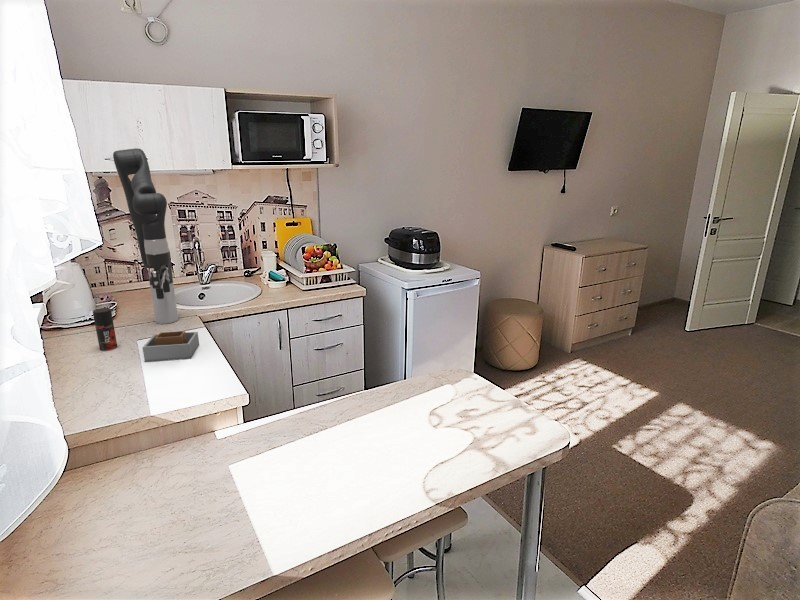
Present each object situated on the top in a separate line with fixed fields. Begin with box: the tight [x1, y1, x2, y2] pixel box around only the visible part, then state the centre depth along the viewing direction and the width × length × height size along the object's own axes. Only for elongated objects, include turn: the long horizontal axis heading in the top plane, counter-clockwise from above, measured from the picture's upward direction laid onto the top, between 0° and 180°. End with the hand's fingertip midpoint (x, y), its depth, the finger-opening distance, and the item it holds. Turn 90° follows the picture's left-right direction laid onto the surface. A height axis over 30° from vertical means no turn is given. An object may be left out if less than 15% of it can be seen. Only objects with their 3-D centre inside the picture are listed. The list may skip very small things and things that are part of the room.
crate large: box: [142, 331, 200, 363], centre depth 184 cm, size 14×16×6 cm
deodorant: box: [92, 307, 118, 352], centre depth 189 cm, size 6×6×15 cm
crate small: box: [155, 330, 187, 346], centre depth 184 cm, size 6×9×6 cm, turn 99°
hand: (164, 295), depth 181 cm, fingers open, 8 cm apart
